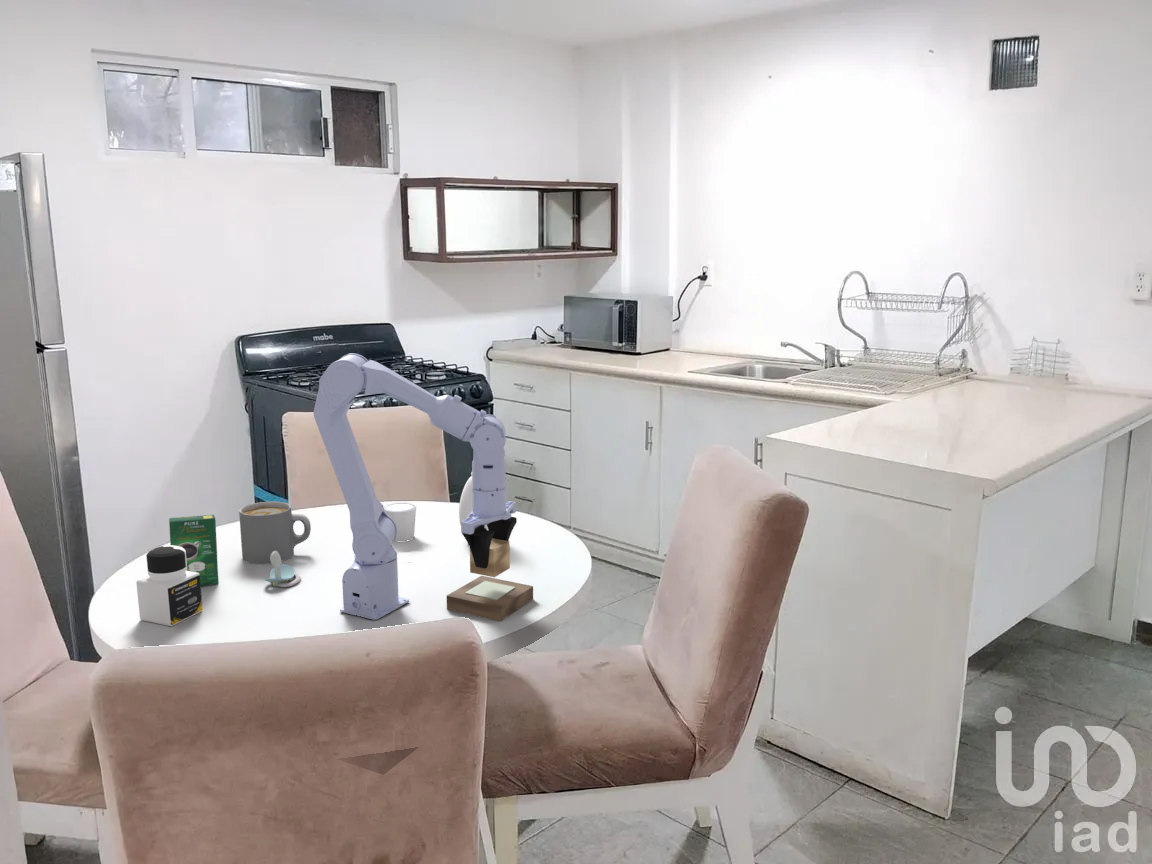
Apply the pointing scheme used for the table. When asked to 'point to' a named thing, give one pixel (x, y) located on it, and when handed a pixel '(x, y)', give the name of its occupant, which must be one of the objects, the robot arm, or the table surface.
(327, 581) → the table surface
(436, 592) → the table surface
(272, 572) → the pacifier
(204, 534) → the coffee box
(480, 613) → the walnut base
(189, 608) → the medicine bottle
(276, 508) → the coffee mug
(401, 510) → the white cup
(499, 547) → the oak cube
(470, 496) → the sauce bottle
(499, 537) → the robot arm
